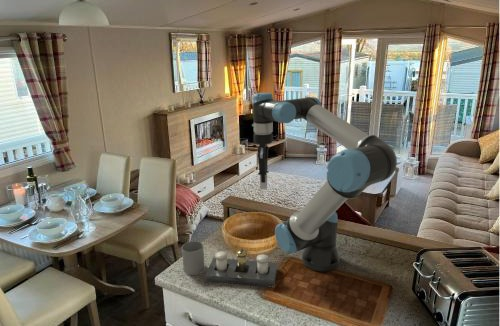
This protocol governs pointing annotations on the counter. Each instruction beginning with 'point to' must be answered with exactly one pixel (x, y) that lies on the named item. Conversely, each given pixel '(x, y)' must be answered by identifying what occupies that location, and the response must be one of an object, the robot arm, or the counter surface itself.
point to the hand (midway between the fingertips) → (263, 188)
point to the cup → (193, 257)
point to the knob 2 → (262, 264)
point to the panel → (242, 274)
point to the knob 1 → (221, 261)
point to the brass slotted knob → (241, 259)
